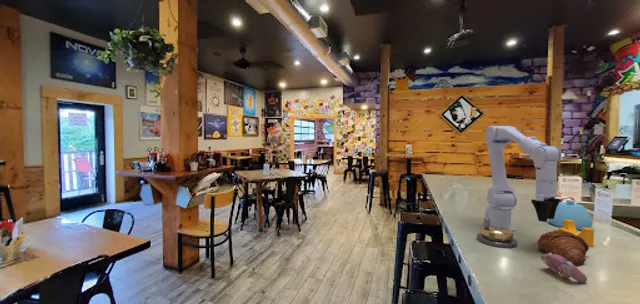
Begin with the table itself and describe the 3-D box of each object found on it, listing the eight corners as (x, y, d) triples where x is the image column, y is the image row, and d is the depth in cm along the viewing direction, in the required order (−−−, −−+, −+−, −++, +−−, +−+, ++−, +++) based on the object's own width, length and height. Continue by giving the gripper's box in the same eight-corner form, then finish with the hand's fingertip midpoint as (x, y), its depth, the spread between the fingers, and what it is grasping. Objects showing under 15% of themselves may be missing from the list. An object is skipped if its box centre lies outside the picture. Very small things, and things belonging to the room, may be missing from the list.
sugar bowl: (587, 224, 131) (588, 199, 130) (596, 233, 118) (598, 206, 117) (545, 219, 139) (546, 195, 138) (549, 227, 126) (551, 201, 125)
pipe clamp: (558, 235, 116) (558, 219, 116) (570, 236, 115) (571, 220, 115) (579, 246, 104) (580, 228, 104) (592, 247, 103) (594, 229, 103)
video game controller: (544, 272, 86) (535, 252, 86) (557, 265, 86) (548, 245, 86) (576, 290, 76) (566, 267, 76) (590, 282, 77) (581, 259, 76)
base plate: (468, 236, 112) (468, 233, 112) (495, 234, 116) (495, 230, 115) (497, 249, 100) (497, 245, 99) (526, 246, 103) (526, 242, 103)
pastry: (519, 247, 102) (520, 225, 102) (545, 241, 109) (547, 220, 108) (577, 267, 87) (578, 241, 87) (604, 259, 93) (605, 235, 93)
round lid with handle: (503, 233, 112) (504, 215, 112) (518, 242, 102) (519, 223, 102) (476, 232, 113) (477, 214, 112) (489, 241, 103) (490, 222, 103)
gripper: (554, 182, 92) (554, 225, 92) (566, 180, 101) (566, 219, 101) (528, 181, 98) (528, 221, 98) (542, 179, 107) (542, 216, 107)
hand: (546, 220), depth 100 cm, fingers open, 7 cm apart
